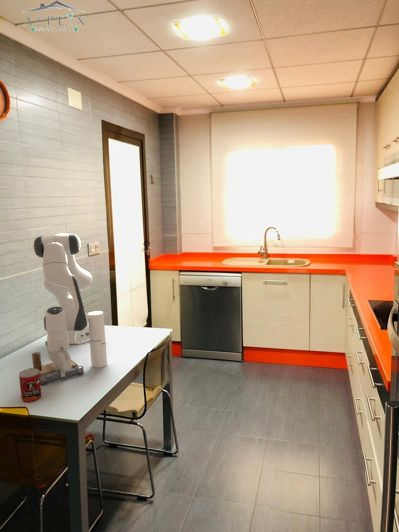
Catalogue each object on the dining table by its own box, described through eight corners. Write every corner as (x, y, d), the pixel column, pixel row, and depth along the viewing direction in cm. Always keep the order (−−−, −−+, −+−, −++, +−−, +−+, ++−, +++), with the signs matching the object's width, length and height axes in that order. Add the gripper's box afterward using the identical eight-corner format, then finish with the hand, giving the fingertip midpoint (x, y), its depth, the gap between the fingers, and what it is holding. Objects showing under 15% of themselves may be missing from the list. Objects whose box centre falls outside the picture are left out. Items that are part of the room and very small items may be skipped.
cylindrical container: (90, 363, 216) (86, 312, 212) (105, 360, 219) (101, 310, 215) (93, 368, 209) (89, 315, 206) (108, 365, 212) (104, 313, 208)
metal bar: (81, 371, 206) (81, 365, 206) (85, 374, 203) (84, 367, 202) (36, 383, 194) (35, 376, 194) (39, 386, 191) (38, 379, 190)
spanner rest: (70, 360, 220) (68, 342, 219) (77, 366, 212) (76, 347, 211) (23, 372, 208) (21, 353, 206) (29, 378, 200) (27, 359, 198)
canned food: (21, 404, 175) (19, 377, 173) (21, 396, 182) (18, 370, 180) (42, 400, 178) (40, 373, 176) (41, 392, 185) (38, 366, 183)
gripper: (73, 348, 190) (76, 380, 192) (57, 337, 206) (60, 366, 208) (59, 352, 186) (61, 384, 188) (43, 340, 203) (46, 370, 205)
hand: (61, 374), depth 198 cm, fingers closed on metal bar, 3 cm apart
